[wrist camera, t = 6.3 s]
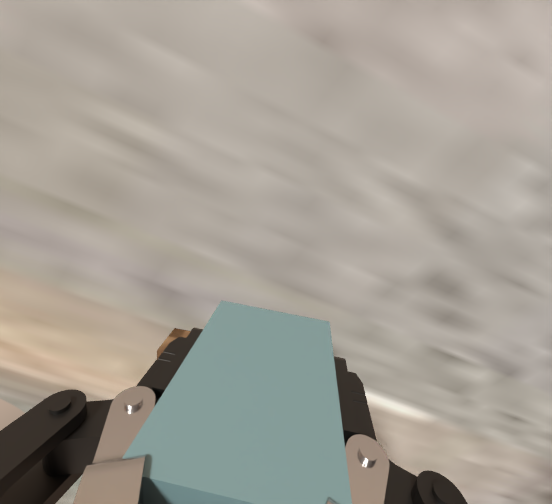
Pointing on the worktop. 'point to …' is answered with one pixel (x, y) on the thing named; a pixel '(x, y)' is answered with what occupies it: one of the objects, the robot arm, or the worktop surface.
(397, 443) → the worktop surface
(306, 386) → the light blue block
